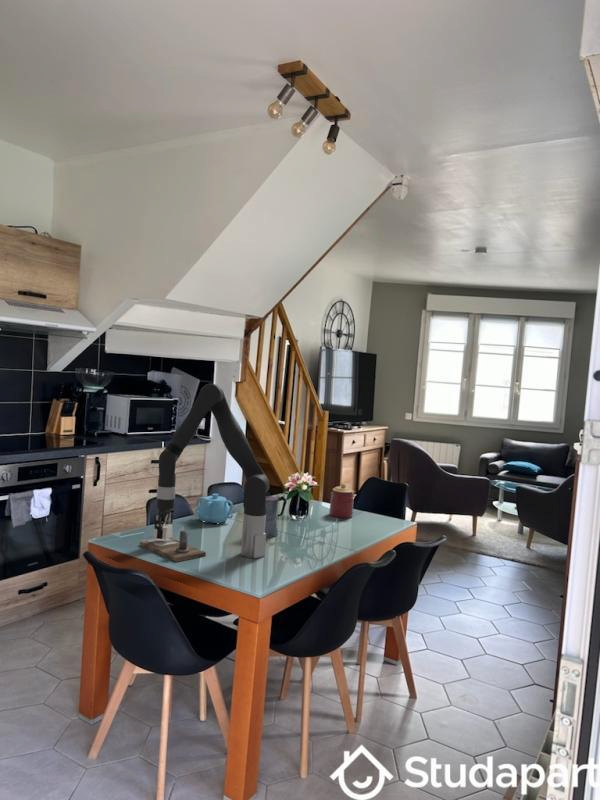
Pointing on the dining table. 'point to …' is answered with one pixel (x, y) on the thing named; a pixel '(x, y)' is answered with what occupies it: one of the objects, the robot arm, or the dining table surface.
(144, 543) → the post board
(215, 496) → the decorative pot
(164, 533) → the white cube
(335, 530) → the dining table surface
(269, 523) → the moka pot
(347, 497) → the canister
